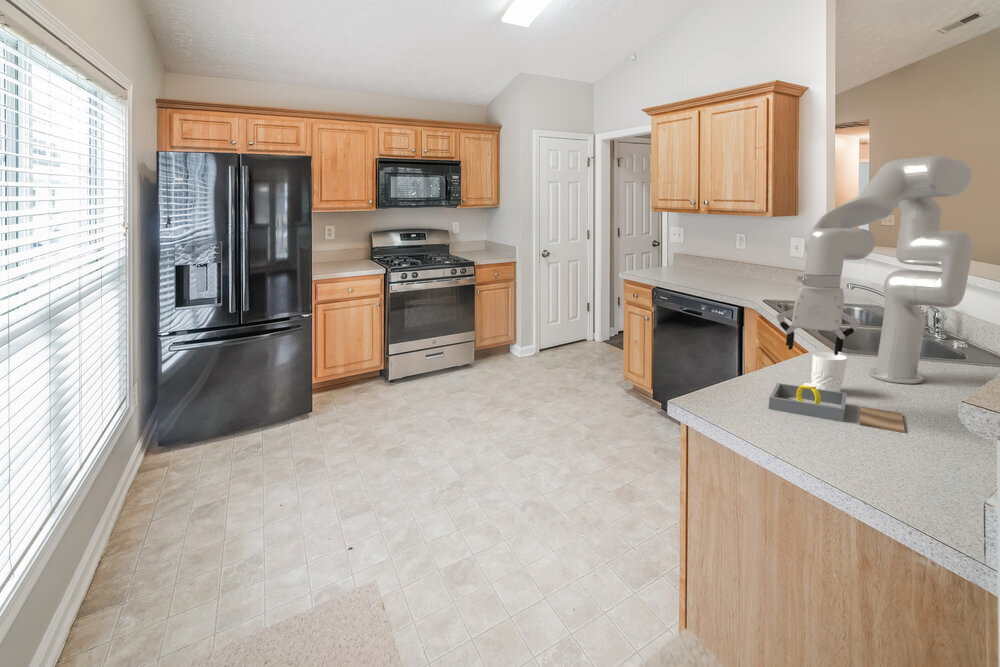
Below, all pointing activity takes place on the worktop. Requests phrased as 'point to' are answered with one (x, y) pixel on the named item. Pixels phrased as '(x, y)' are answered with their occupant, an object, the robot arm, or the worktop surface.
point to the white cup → (828, 370)
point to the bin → (805, 407)
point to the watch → (808, 386)
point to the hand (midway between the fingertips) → (812, 351)
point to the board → (881, 419)
